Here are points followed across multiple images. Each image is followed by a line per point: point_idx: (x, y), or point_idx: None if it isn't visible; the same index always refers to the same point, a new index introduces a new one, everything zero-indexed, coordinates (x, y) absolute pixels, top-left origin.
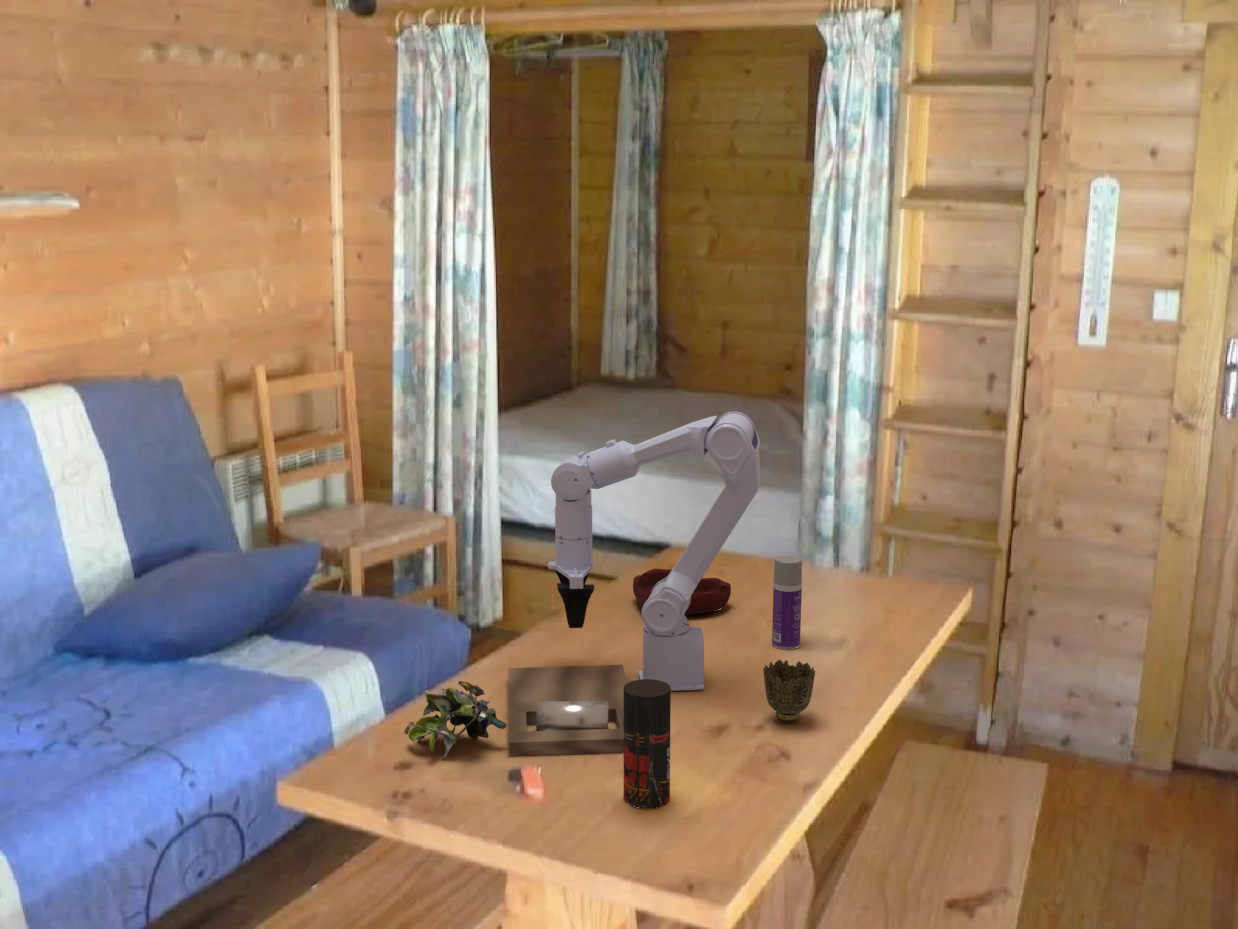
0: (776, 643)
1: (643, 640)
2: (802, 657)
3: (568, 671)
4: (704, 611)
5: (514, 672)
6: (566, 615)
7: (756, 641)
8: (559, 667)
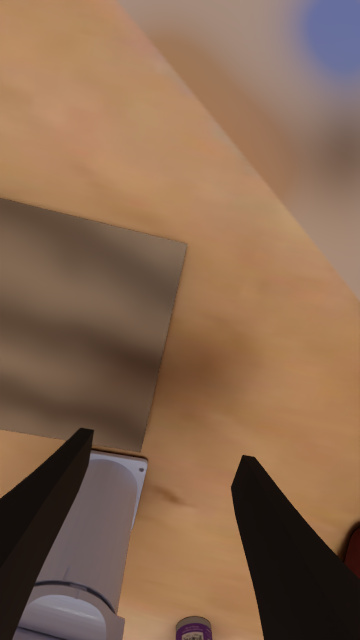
0: (187, 628)
1: (73, 543)
2: (147, 630)
3: (133, 359)
4: None
5: (157, 251)
6: (46, 461)
7: (218, 606)
8: (158, 348)
